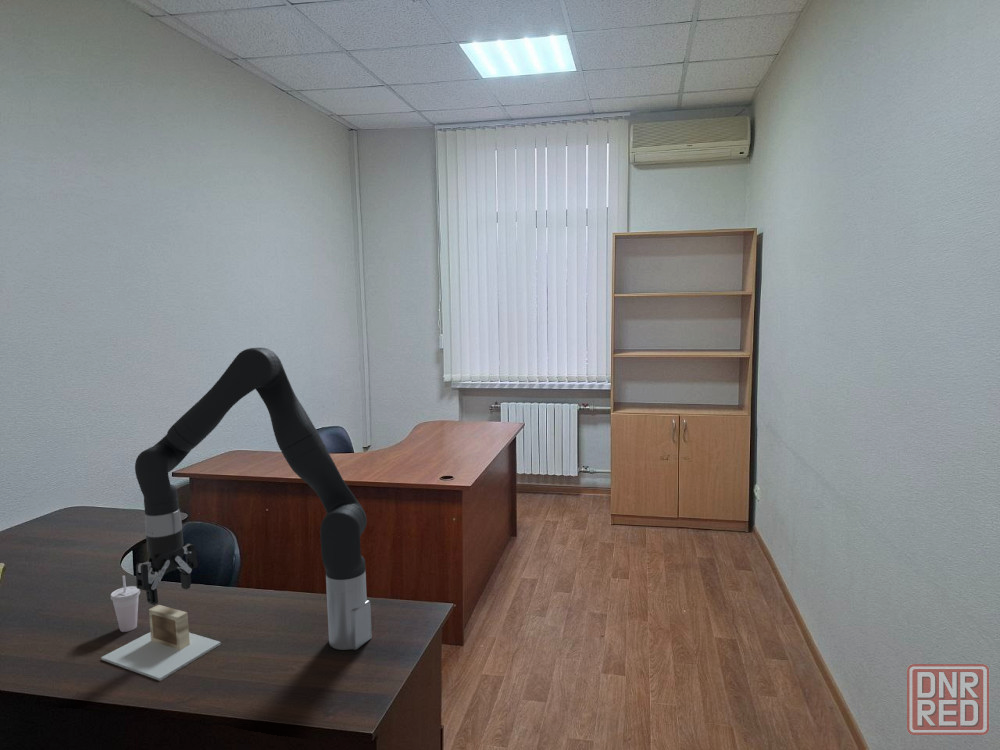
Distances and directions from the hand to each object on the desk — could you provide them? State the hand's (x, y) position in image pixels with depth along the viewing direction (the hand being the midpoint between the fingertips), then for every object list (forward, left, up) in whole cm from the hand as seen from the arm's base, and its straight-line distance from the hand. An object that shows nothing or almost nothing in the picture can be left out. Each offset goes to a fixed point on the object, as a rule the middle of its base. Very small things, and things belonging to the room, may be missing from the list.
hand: (170, 595), depth 149 cm
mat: (0, +3, -13) cm, 13 cm away
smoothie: (+18, -1, -13) cm, 22 cm away
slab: (+1, 0, -12) cm, 12 cm away
